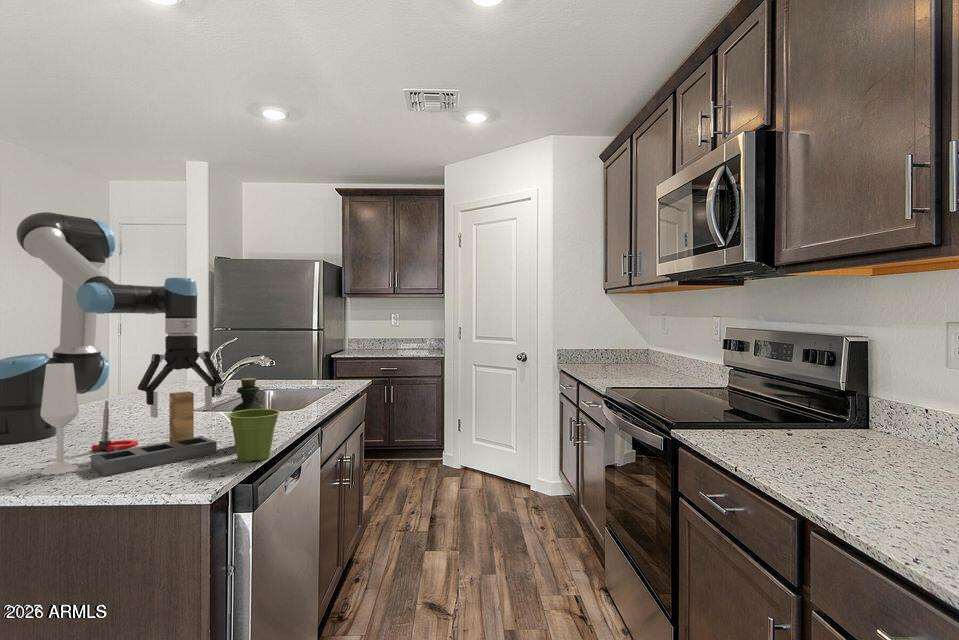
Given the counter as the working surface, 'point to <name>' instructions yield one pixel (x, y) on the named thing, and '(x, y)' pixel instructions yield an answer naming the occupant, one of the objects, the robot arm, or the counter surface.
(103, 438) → the tow hook
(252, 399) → the potion bottle
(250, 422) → the plant pot
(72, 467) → the champagne flute
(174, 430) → the ochre peg
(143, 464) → the grey slotted tray
